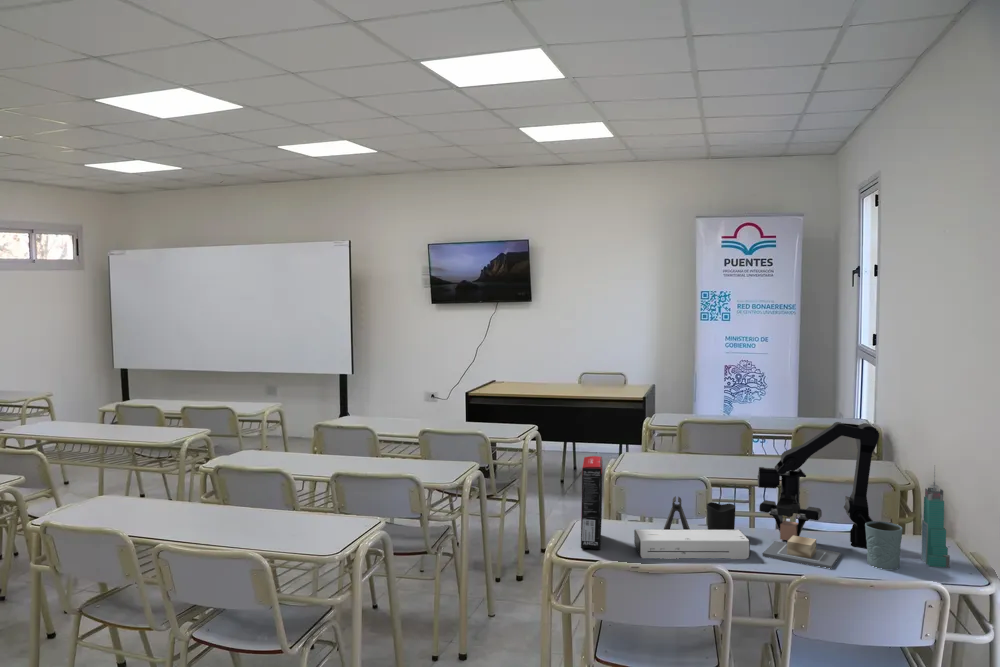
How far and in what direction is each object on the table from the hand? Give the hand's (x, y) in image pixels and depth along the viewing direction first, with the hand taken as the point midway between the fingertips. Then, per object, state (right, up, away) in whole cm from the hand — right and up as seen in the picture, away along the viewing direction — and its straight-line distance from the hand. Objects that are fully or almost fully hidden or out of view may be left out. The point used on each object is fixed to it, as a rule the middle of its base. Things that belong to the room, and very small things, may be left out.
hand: (789, 535), depth 247 cm
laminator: (-36, -3, -11) cm, 38 cm away
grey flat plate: (-2, -2, -15) cm, 16 cm away
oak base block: (-2, -2, -15) cm, 16 cm away
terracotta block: (0, -1, 0) cm, 1 cm away
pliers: (-36, -2, +8) cm, 37 cm away
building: (+35, -3, -23) cm, 42 cm away
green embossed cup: (+19, -3, -23) cm, 30 cm away
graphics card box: (-66, -2, -1) cm, 66 cm away
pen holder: (-21, -2, +7) cm, 22 cm away
